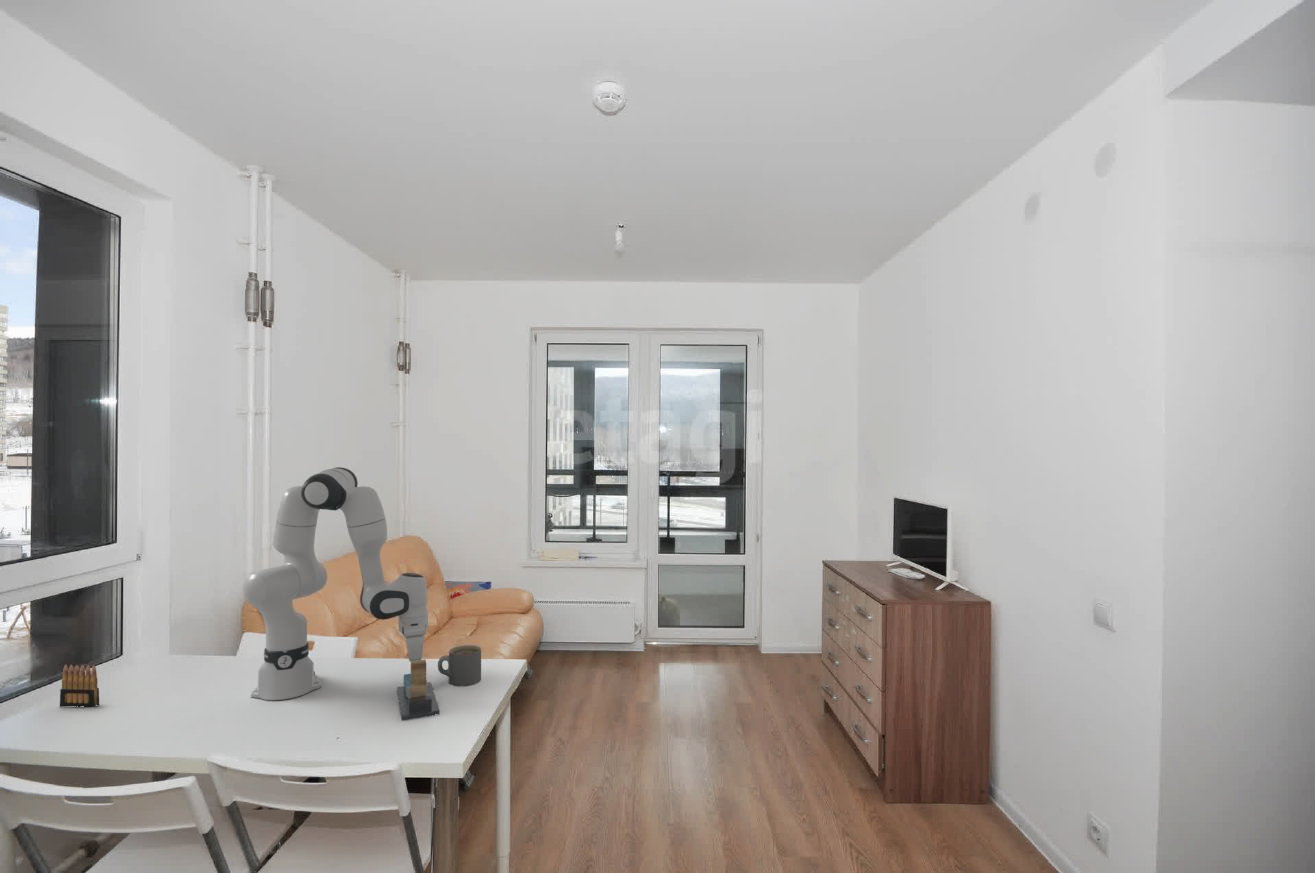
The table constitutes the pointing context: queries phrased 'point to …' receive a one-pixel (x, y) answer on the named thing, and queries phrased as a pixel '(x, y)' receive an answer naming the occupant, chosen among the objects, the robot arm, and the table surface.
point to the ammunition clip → (79, 687)
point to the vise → (417, 704)
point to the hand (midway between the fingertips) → (414, 667)
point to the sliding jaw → (408, 685)
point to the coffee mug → (462, 665)
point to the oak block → (418, 678)
